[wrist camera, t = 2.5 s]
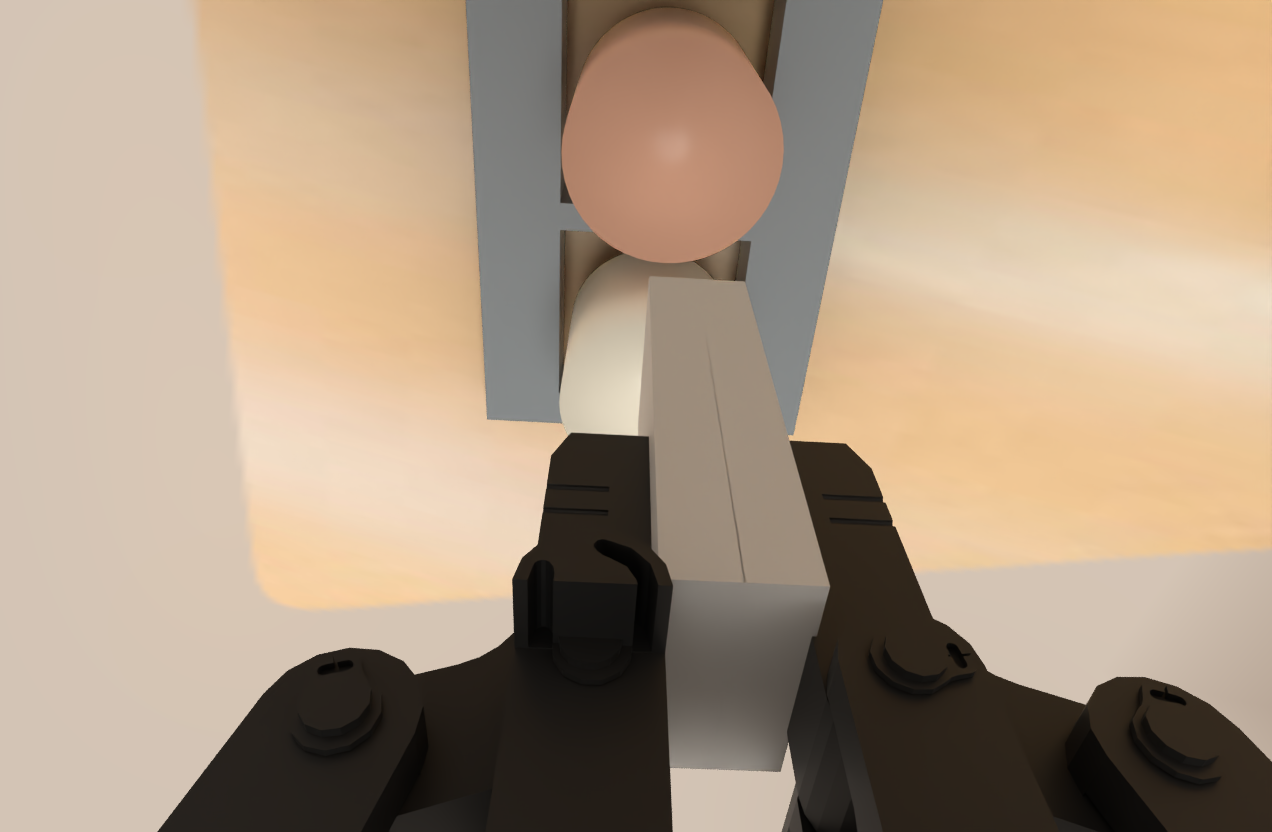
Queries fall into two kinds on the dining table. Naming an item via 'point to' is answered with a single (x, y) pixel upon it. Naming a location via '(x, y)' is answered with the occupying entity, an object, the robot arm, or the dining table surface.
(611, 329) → the cream cylinder
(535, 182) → the board
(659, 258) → the pink cylinder
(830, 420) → the dining table surface
